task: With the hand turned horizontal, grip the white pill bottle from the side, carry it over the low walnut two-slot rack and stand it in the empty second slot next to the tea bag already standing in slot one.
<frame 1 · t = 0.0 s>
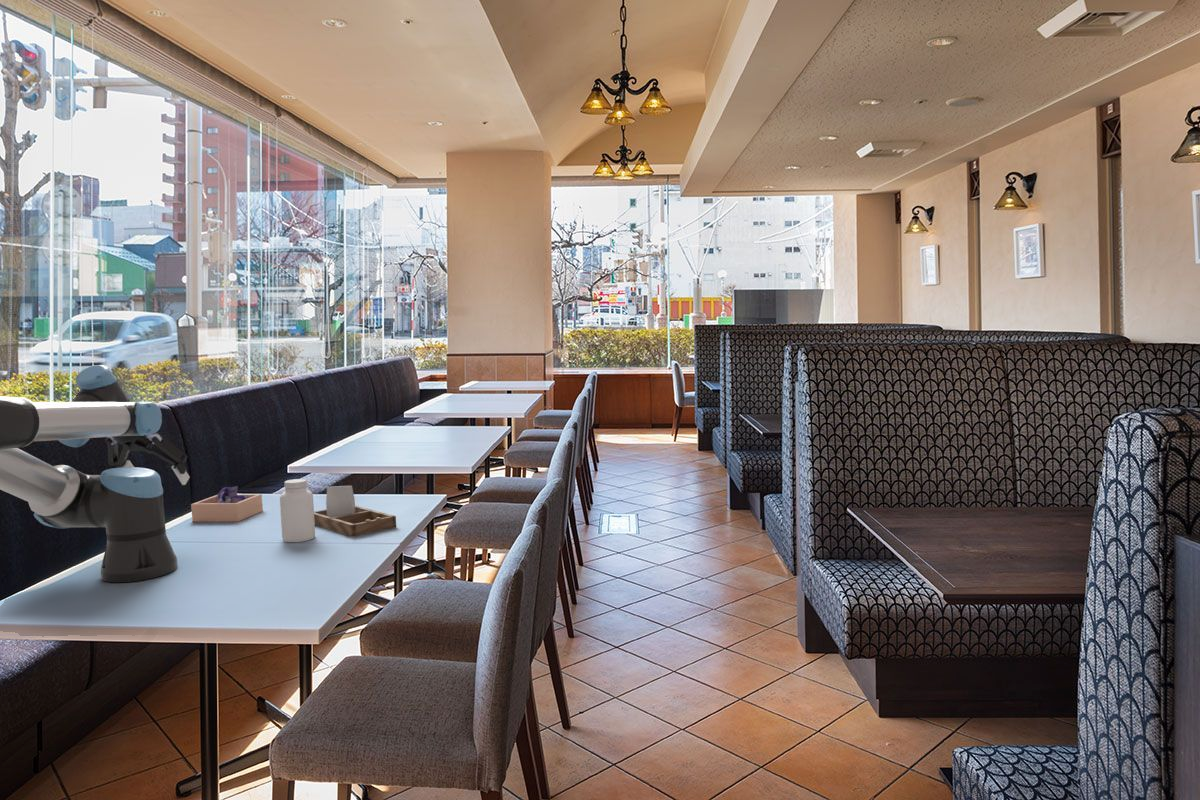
hand: (161, 481, 221), 15 cm above the table, tool tilted 35°, fingers open, 13 cm apart
flower planter: (228, 516, 248), on the table
flower: (228, 517, 248), resting in flower planter
slot rack: (363, 528, 226), on the table
pill bottle: (299, 539, 217), on the table
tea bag: (342, 523, 234), resting in slot rack
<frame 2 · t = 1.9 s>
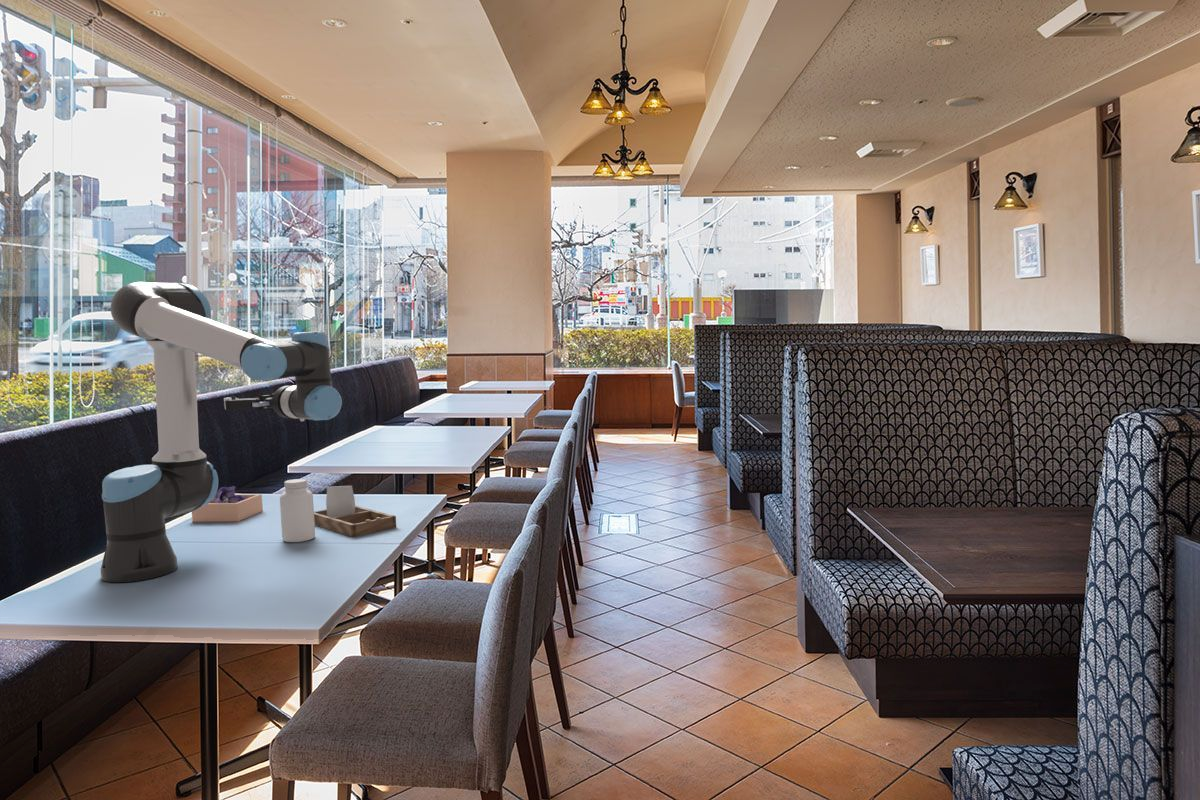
hand: (253, 400, 210), 36 cm above the table, tool horizontal, fingers open, 13 cm apart
nothing on the table moved.
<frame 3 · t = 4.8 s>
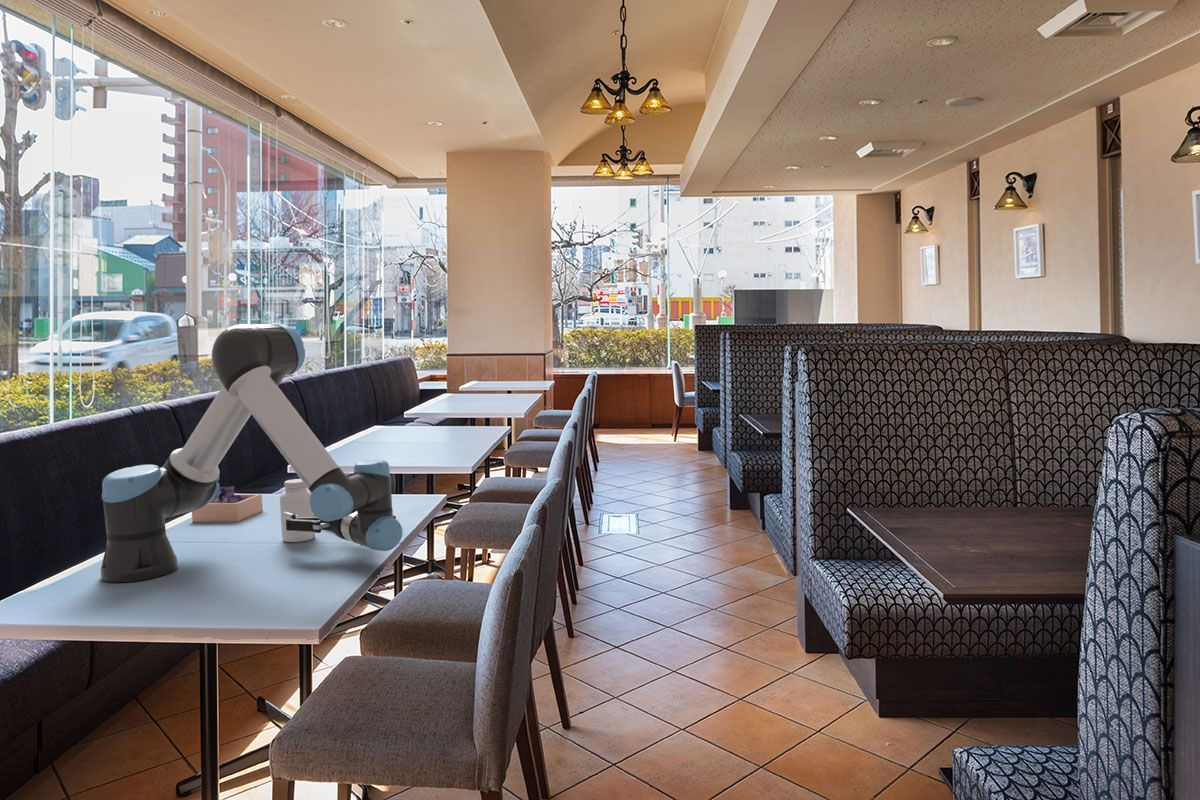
hand: (312, 512, 211), 8 cm above the table, tool horizontal, fingers open, 13 cm apart
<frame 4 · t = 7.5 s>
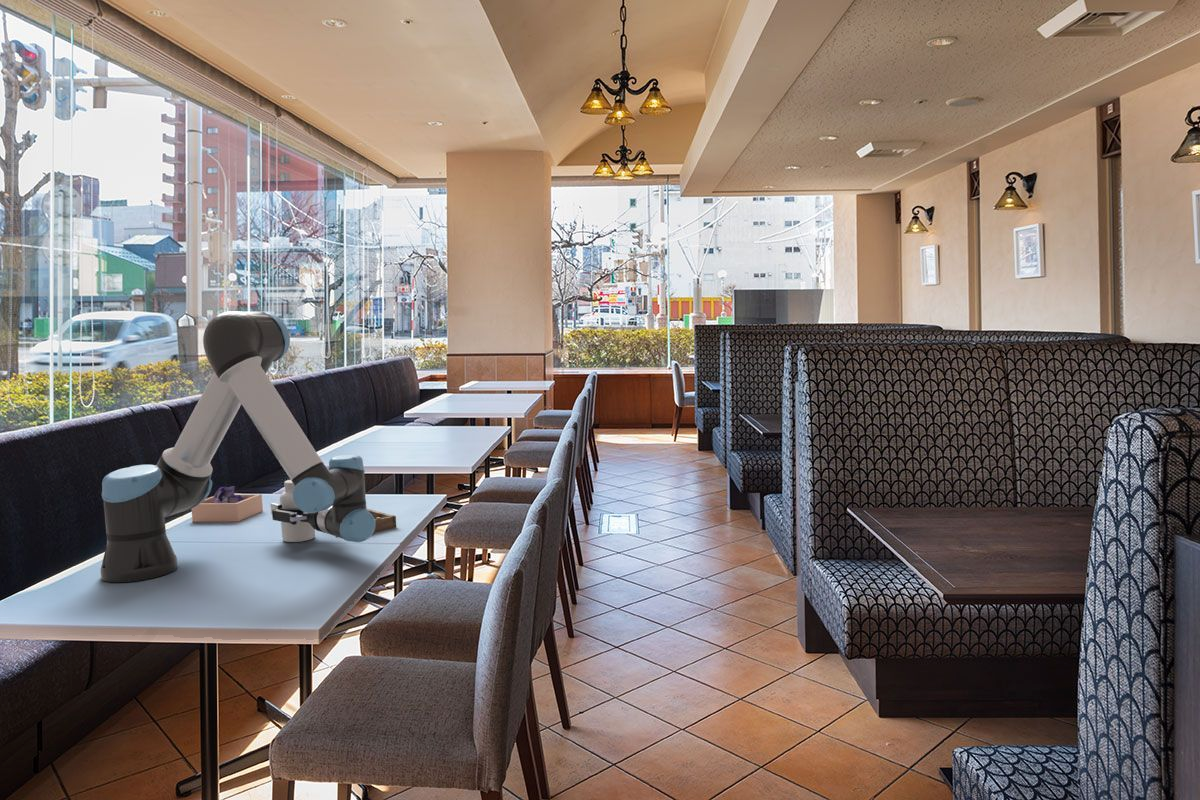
hand: (288, 505, 220), 8 cm above the table, tool horizontal, fingers closed on pill bottle, 8 cm apart
pill bottle: (299, 539, 217), on the table, touching gripper
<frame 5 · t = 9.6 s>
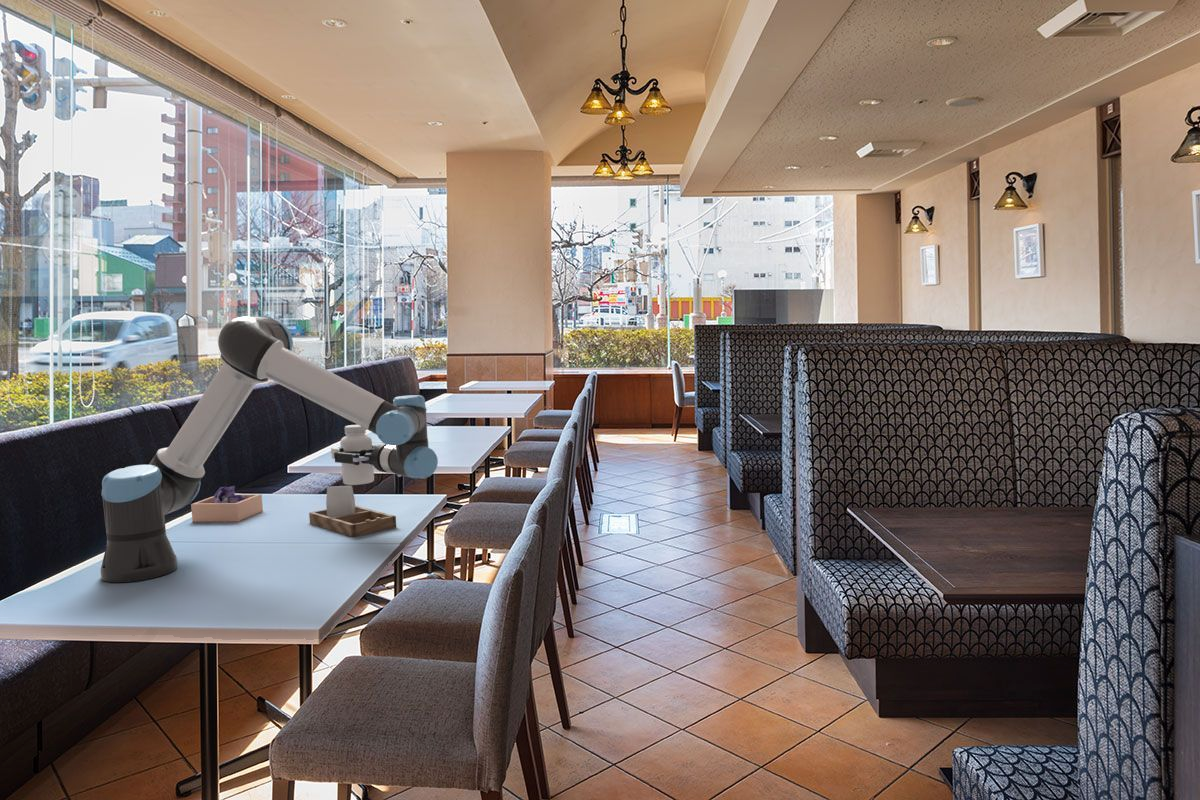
hand: (347, 450, 227), 20 cm above the table, tool horizontal, fingers closed on pill bottle, 8 cm apart
pill bottle: (359, 483, 224), point 12 cm above the table, touching gripper
when the fingers open (9 cm above the table, at t = 12.1 s): pill bottle drops 1 cm, resting in slot rack.
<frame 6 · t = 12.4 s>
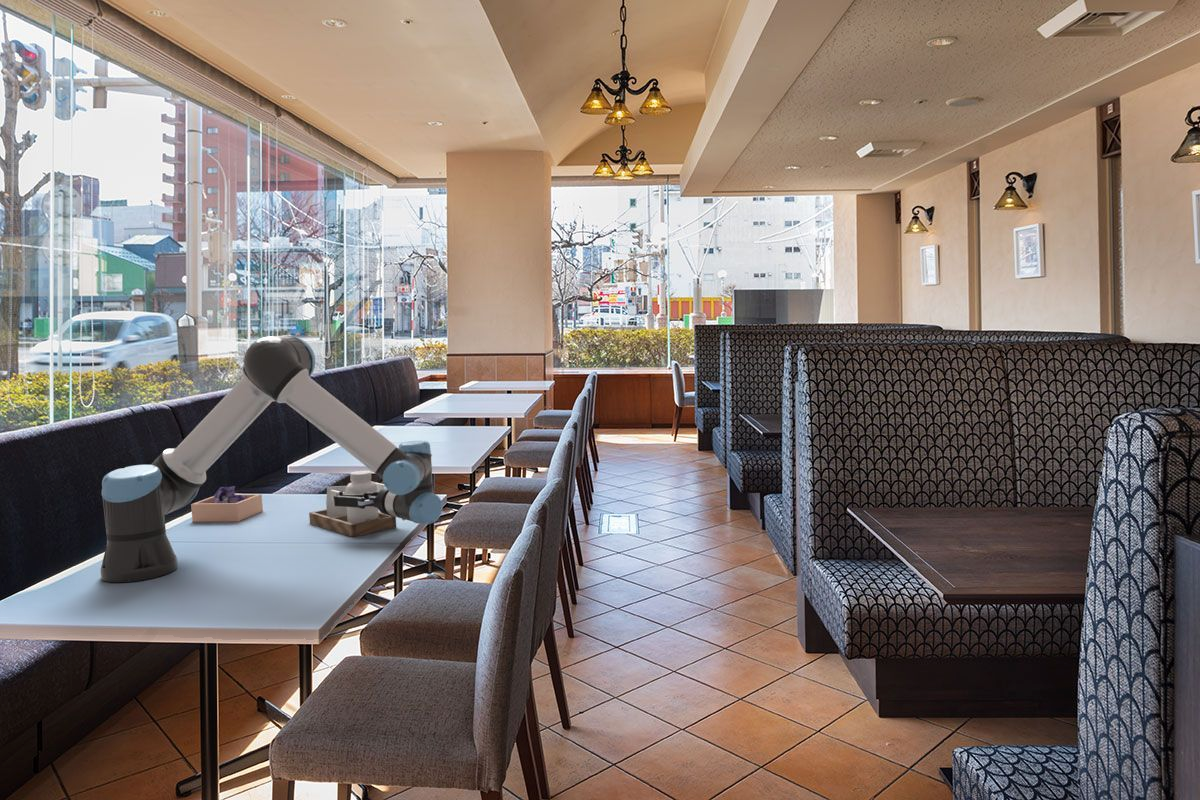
hand: (353, 491, 228), 9 cm above the table, tool horizontal, fingers open, 11 cm apart
pill bottle: (363, 529, 226), resting in slot rack
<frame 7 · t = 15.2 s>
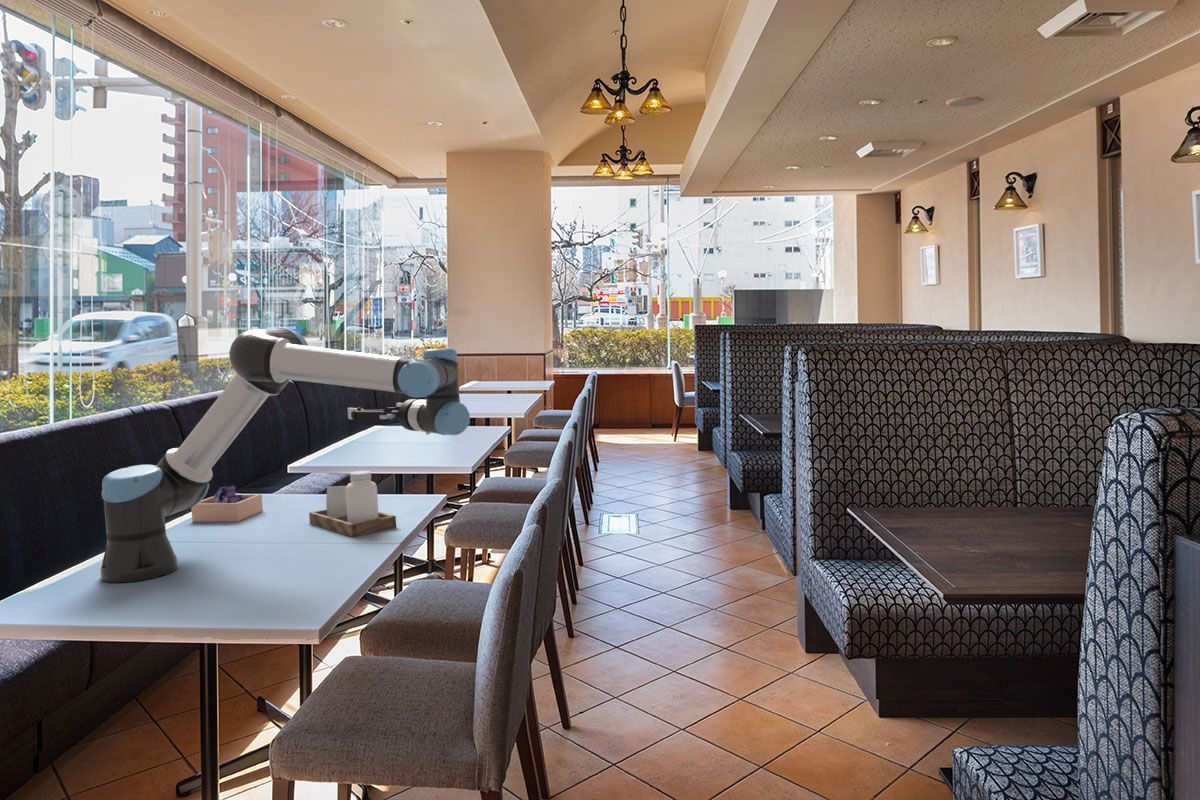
hand: (374, 410, 216), 32 cm above the table, tool horizontal, fingers open, 13 cm apart
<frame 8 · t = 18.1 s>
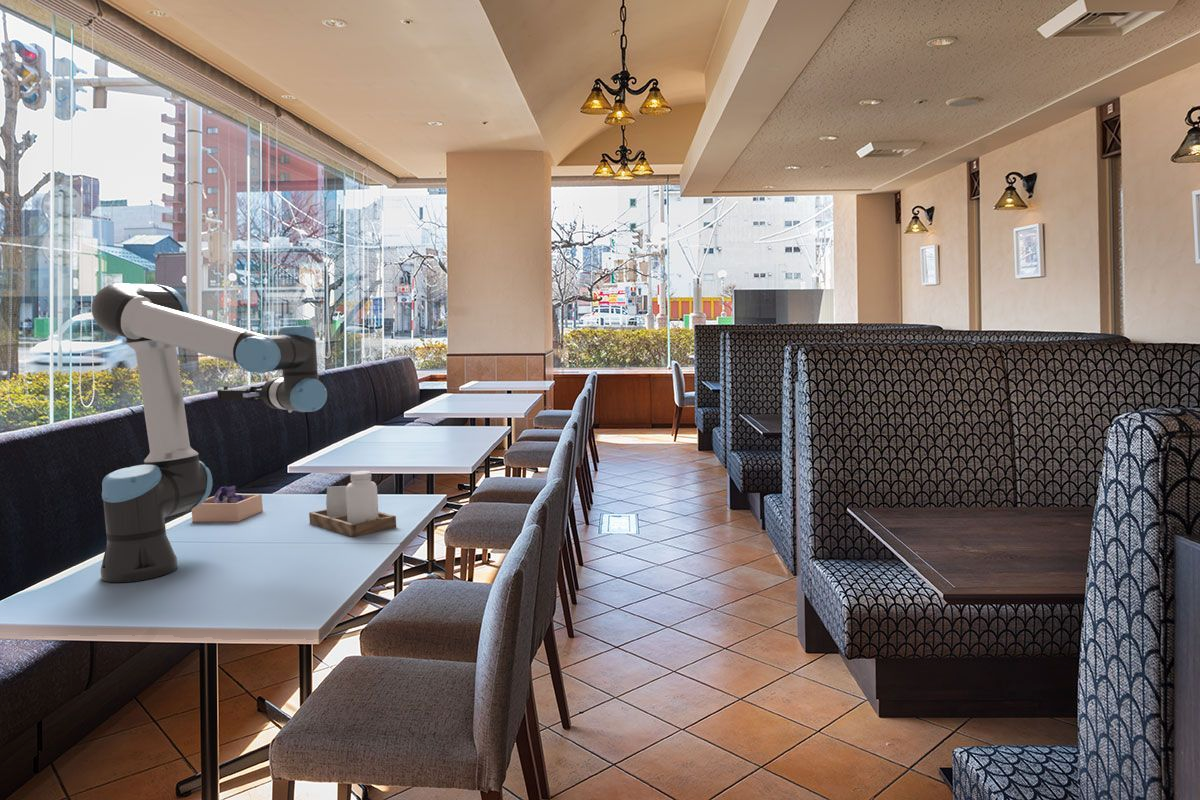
hand: (247, 390, 216), 38 cm above the table, tool horizontal, fingers open, 13 cm apart
flower: (225, 516, 249), resting in flower planter
everything else where it was.
at the end: pill bottle 0.2 cm from the slot rack (horizontally); pill bottle tilted 0°; the gripper is holding nothing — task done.
